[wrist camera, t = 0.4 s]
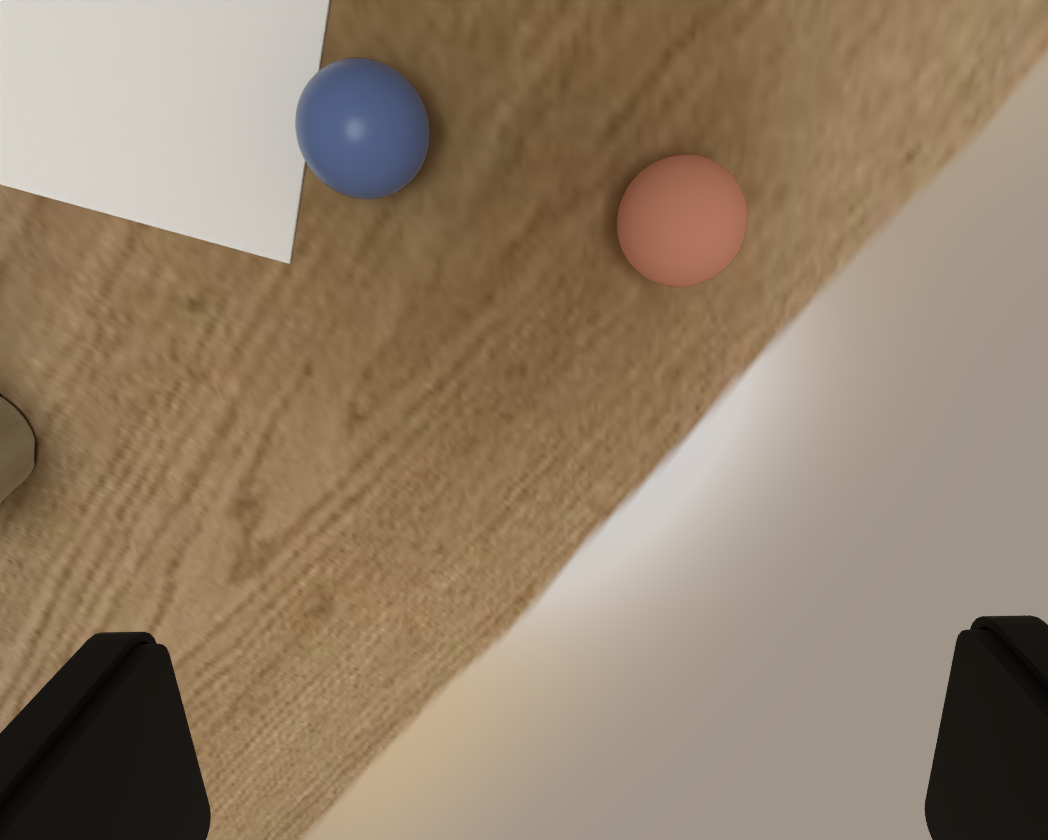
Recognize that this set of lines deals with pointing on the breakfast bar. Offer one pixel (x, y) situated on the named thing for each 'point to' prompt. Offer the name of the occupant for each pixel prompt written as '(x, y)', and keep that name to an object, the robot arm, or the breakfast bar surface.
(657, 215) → the pink smooth round ball
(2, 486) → the flower pot
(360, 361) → the breakfast bar surface
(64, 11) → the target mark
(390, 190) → the blue ball
